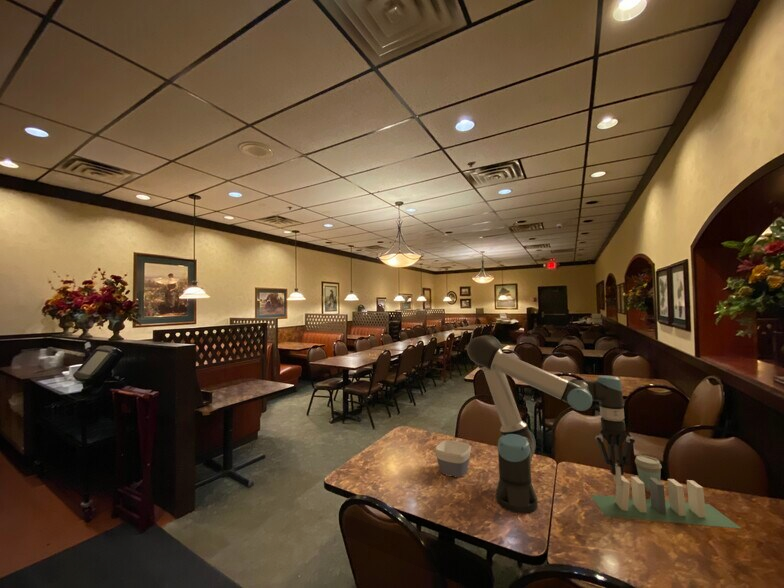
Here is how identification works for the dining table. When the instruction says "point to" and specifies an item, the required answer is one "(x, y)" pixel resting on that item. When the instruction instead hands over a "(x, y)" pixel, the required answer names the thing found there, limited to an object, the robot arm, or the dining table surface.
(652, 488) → the slate domino
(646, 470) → the coffee cup
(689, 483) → the domino
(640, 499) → the domino
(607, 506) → the mat
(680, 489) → the domino
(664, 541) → the dining table surface
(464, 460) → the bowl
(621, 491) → the domino
